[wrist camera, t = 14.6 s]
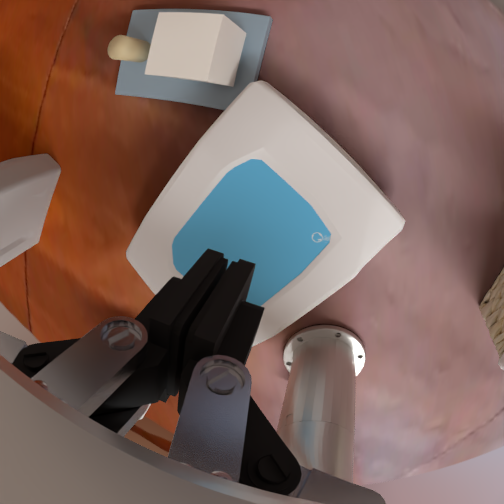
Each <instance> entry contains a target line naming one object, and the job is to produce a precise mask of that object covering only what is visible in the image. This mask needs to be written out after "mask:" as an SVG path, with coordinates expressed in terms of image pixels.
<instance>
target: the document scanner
mask: <svg viewBox="0 0 504 504" xmlns="http://www.w3.org/2000/svg"><path fill="white" fill-rule="evenodd" d="M404 223H405V220H404V218H403V216H402V215H401V213H400V211H399V210H398V209H397V208H396V206H395V205H394V204H393V203H392V202H391V201H390V200H389V198H388V197H387V196H386V195H385V194H384V193H383V192H382V190H381V189H380V188H379V187H378V186H377V185H376V184H375V183H374V181H373V180H372V179H371V178H370V177H369V176H368V175H367V174H366V172H365V171H364V170H363V169H362V168H361V167H360V166H359V165H358V163H357V162H356V161H355V160H354V159H353V158H352V157H351V156H350V155H349V154H348V153H347V152H346V151H345V150H344V149H343V148H342V147H341V146H340V145H339V144H338V143H337V142H336V141H335V140H333V139H332V138H331V137H330V136H329V135H328V134H327V133H326V132H325V131H324V130H323V129H322V128H321V127H320V126H319V125H318V124H316V123H315V122H314V121H313V120H312V119H311V118H310V117H309V116H308V115H306V114H305V113H304V112H303V111H302V110H301V109H299V108H298V107H297V106H296V105H295V104H294V103H292V102H291V101H290V100H289V99H287V98H286V97H285V96H284V95H283V94H281V93H280V92H279V91H278V90H276V89H275V88H274V87H273V86H271V85H270V84H269V83H267V82H265V81H261V80H260V81H256V82H252V83H249V84H248V85H247V87H246V88H245V89H244V90H243V91H242V92H241V93H240V94H239V95H238V96H237V97H236V98H235V100H234V101H233V102H232V103H231V104H230V105H229V106H228V107H227V108H226V109H225V111H224V112H223V113H222V114H221V115H220V116H219V117H218V119H217V120H216V121H215V122H214V123H213V124H212V126H211V127H210V128H209V129H208V130H207V131H206V133H205V134H204V135H203V136H202V137H201V139H200V140H199V141H198V142H197V143H196V145H195V146H194V147H193V149H192V150H191V151H190V153H189V154H188V156H187V157H186V158H185V160H184V161H183V162H182V164H181V165H180V166H179V168H178V169H177V171H176V172H175V173H174V175H173V176H172V178H171V179H170V181H169V182H168V183H167V185H166V186H165V188H164V189H163V191H162V192H161V194H160V195H159V197H158V198H157V199H156V201H155V202H154V204H153V205H152V207H151V208H150V210H149V211H148V213H147V215H146V216H145V218H144V219H143V221H142V223H141V225H140V227H139V228H138V230H137V232H136V234H135V236H134V237H133V239H132V241H131V243H130V245H129V247H128V249H127V251H126V256H127V260H128V261H129V262H130V263H131V265H132V266H133V267H134V269H135V270H136V271H137V273H138V274H139V275H140V276H141V278H142V279H143V280H144V281H145V283H146V284H147V285H148V286H149V288H150V289H151V290H152V291H153V293H155V294H157V293H158V292H159V291H160V290H161V289H162V287H163V286H164V285H165V284H166V283H167V282H168V281H169V280H170V279H171V278H172V277H177V278H180V279H182V278H183V277H184V275H185V274H186V273H187V272H188V271H189V270H190V268H191V267H192V266H193V265H194V264H195V262H196V261H197V260H198V259H199V258H200V257H201V255H202V254H203V253H204V252H205V251H206V250H207V249H212V250H215V251H218V252H221V253H224V258H226V259H228V265H227V268H228V267H229V265H230V264H231V262H232V261H235V262H238V261H239V259H243V260H246V261H249V262H252V263H255V264H256V265H255V270H254V273H253V277H252V281H251V284H250V288H249V292H248V296H247V299H246V302H249V303H252V304H255V305H258V306H261V307H264V308H265V309H264V312H263V315H262V318H261V321H260V324H259V328H258V330H257V333H256V336H255V339H254V342H253V345H252V347H253V346H255V345H257V344H259V343H261V342H263V341H265V340H267V339H269V338H271V337H273V336H275V335H276V334H278V333H279V332H281V331H282V330H283V329H285V328H286V327H288V326H289V325H291V324H292V323H293V322H295V321H296V320H298V319H299V318H301V317H302V316H303V315H305V314H306V313H308V312H309V311H310V310H312V309H313V308H314V307H316V306H317V305H319V304H320V303H321V302H323V301H324V300H325V299H327V298H328V297H329V296H331V295H332V294H333V293H335V292H336V291H337V290H339V289H340V288H341V287H343V286H344V285H345V284H347V283H348V282H349V281H350V280H352V279H353V278H354V277H355V276H356V275H357V274H358V273H359V271H360V270H361V269H362V267H363V266H365V265H366V264H367V263H368V262H369V261H370V260H371V259H372V258H373V257H374V256H375V255H376V254H377V253H378V252H379V251H380V250H381V249H382V248H383V247H384V246H385V245H386V244H387V243H388V242H389V241H390V240H391V239H392V238H394V237H395V236H396V235H397V234H398V233H399V232H400V231H402V229H403V226H404Z"/></svg>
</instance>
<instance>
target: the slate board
mask: <svg viewBox="0 0 504 504" xmlns="http://www.w3.org/2000/svg"><path fill="white" fill-rule="evenodd" d="M159 12H192V13H212V14H224V15H225V16H226V17H228V18H229V19H230V20H231V21H232V22H234V23H235V24H236V25H237V26H239V27H240V28H241V29H242V30H243V31H244V32H246V33H247V34H246V37H245V41H244V45H243V49H242V53H241V57H240V61H239V65H238V70H237V74H236V78H235V82H234V86H233V87H231V86H226V85H220V84H214V83H207V82H201V81H193V80H186V79H178V78H171V77H163V76H155V75H146V74H145V69H146V64H147V60H148V55H149V50H150V46H151V42H152V38H153V33H154V29H155V25H156V22H157V18H158V14H159ZM272 21H273V20H272V18H271V17H270V16H264V15H257V14H249V13H241V12H231V11H219V10H202V9H147V10H133V12H132V16H131V20H130V24H129V28H128V32H127V36H124V35H118V36H116V37H114V38H113V39H112V40H111V42H110V43H109V46H108V55H109V56H110V58H112V59H116V60H121V64H120V69H119V74H118V80H117V86H116V92H115V94H117V95H128V96H137V97H146V98H154V99H162V100H169V101H175V102H182V103H188V104H194V105H200V106H205V107H211V108H216V109H221V110H225V109H226V108H227V107H228V106H229V105H230V104H231V103H232V102H233V101H234V100H235V98H236V97H237V96H238V95H239V94H240V93H241V92H242V91H243V90H244V89H245V88H246V87H247V85H248V84H249V83H252V82H256V81H257V80H258V76H259V72H260V68H261V64H262V60H263V56H264V52H265V48H266V44H267V40H268V36H269V32H270V29H271V25H272Z"/></svg>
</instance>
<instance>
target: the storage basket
mask: <svg viewBox="0 0 504 504" xmlns="http://www.w3.org/2000/svg"><path fill="white" fill-rule="evenodd" d="M485 302H487V303H485ZM479 309H480V311H481V314H482V316H483V318H484V320H485V322H486V326H487V328H488V329H489V333H490V336H491V338H492V339H493V342H494V345H495V346H496V350H497V351H498V354H499V361H498V364H499V365H500V368H501V369H503V370H504V267H503V269H502V271H501V273H500V275H499V276H498V277H497V278H496V280H495V282H494V284H493V285H492V287H491V289H489V290H488V292H487V293H486V295H485V297H484V299H483V301H482V302H481V304H480V307H479Z"/></svg>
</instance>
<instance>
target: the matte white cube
mask: <svg viewBox="0 0 504 504" xmlns="http://www.w3.org/2000/svg"><path fill="white" fill-rule="evenodd" d="M246 34H247V33H246V32H244V31H243V30H242V29H241V28H240V27H239V26H237V25H236V24H235V23H234V22H232V21H231V20H230V19H229V18H228V17H226V16H225V15H224V14H212V13H192V12H159V14H158V18H157V22H156V25H155V29H154V33H153V38H152V42H151V46H150V50H149V55H148V60H147V64H146V69H145V74H146V75H155V76H163V77H171V78H178V79H186V80H193V81H201V82H207V83H214V84H220V85H226V86H231V87H233V86H234V82H235V78H236V74H237V70H238V65H239V61H240V57H241V53H242V49H243V45H244V41H245V37H246Z"/></svg>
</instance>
